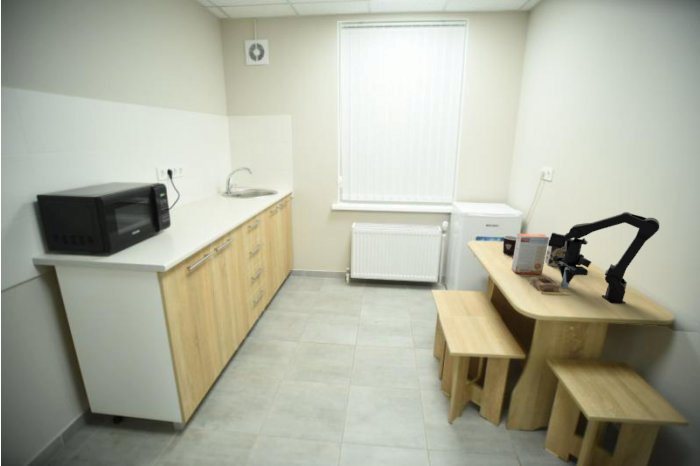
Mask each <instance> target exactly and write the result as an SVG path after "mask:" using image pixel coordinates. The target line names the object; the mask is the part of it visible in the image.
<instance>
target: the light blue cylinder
mask: <svg viewBox="0 0 700 466" xmlns="http://www.w3.org/2000/svg"><path fill="white" fill-rule="evenodd" d="M569 269H570V267H565V270H569ZM569 286H570V282H569V283H567V282H566V273H565V271H564V275H563V279H562V280H561V284H560V287H561V288H563V289H568V288H569Z"/></svg>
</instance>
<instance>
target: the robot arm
mask: <svg viewBox="0 0 700 466" xmlns="http://www.w3.org/2000/svg"><path fill="white" fill-rule="evenodd" d="M621 224H627V225H630V226H632V227H633V228H637V229H638V230H637V232H636V235H635V237H634V239H633V240H632V242H631V243H630V244H629V245H628V247H627V248H626V250H625V252H624V253H623V254H622V256H621V257H620V259H619V260H618V261H617V263H616V264H612V263H611V264H609V265H610V266H609V268H608V269H607V270H605V272H604V276H605V277H604V280H605V283H606V284H608V285H607V288H606V291H605V295H604V294H603V295H601V297H602V298H603V299H605V300H607V301H608V302H609V303H611V304H627V302H626V301H625V300H624V297H625V295H626V289H627V283H628V282H627V281H626V279H624V276H625V273H626V271H627V269H628V267H629V266H630V265H631V263H632V262H633V260H634V258H635V257H636V256H637V254H638V253H639V252H640V250H641V249H642V248H643V246H644V245H645V243H646V242H647V241H648V240H649V239H651V238H653V236H654V235H655V234H656V233H657V232H658V231H659V230H660V222H659V220H658V219H657V218H655V217H644V216H642V215H637V214H634V213H630V212H628V211H625V212H622V213H619V214H616V215H613V216H609V217H607V218H603V219H599V220H596V221H593V222H586V223H585V222H583V223H580V224H579V223H577V224H575V225H573V226H572V227H570V229H569V232H566V233H565V234H560V233H556V232H552V233H551V235H550V237H549V240H548V245H547V247H548V246H551V247H556V248H560V249H562V248H563V247H565V246H566V242H567V241H568V243H567V247H566V251H563V253H564V254H565V256H562V255H556V256H554V258H553V261H555V262H558V261H560V262H559V264H557V265H558V266H557V267H558V269H559V272H560V275H561V278H562V280H563V275H564V271H565V273H566V282H567V283H569V284H570V283H571V281H572V280H573V278H574V277H575V276H588V274H589V273H588V272H589V270H588V269H586V268H589V267H590V266H591V263H592V261H591V260H589V259H587V258H585V256H584V255H583V254H582V253H581V251H582V245H585V246H586V245H587V244H588V243H589V241H587V239H586V238H584V237H586V236H588V235H590V234H591V233H594V232H597V231H600V230H604V229H608V228H610V227H614V226H617V225H621ZM581 238H582V239H581ZM583 266H584V267H583ZM565 267H570V269H569V270H565ZM585 267H586V268H585Z"/></svg>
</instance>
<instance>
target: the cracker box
mask: <svg viewBox="0 0 700 466" xmlns="http://www.w3.org/2000/svg"><path fill="white" fill-rule="evenodd" d="M516 237H517V238H516V244H515V251H514V255H513V256H512V257H513V259H512V264H511V271H512V272H514V274H525V275H526V274H527V275H529V274H530V275H542V274H543V270H544V266H545V265H544V264H545V259H546V254H547V250H548V243H549V240H550V237H549V236H547V235H546V234H542V233H541V234H540V233H517V234H516Z"/></svg>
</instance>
